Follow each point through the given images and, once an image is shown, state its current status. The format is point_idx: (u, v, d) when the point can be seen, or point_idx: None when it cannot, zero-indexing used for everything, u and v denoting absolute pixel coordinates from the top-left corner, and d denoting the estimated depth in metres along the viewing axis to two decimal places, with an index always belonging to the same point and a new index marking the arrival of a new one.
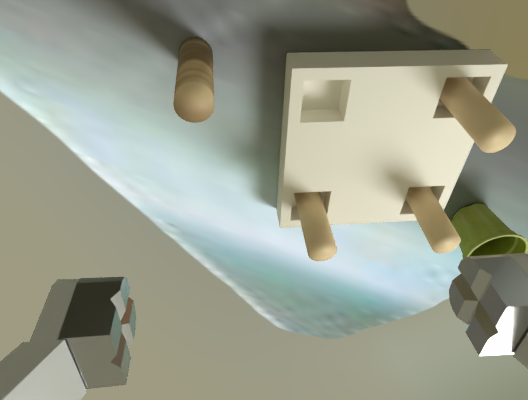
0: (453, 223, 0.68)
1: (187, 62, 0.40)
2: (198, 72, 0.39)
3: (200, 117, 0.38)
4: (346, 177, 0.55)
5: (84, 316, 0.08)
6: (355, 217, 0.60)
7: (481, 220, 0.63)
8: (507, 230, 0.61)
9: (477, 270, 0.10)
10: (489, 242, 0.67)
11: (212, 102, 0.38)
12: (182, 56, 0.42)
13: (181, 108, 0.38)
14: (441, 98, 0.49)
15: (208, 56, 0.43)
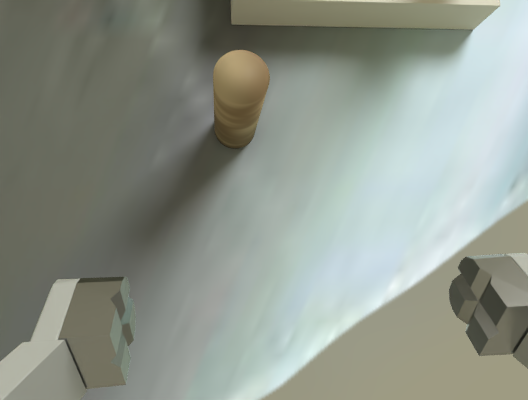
0: None
1: (215, 111, 0.31)
2: None
3: (261, 69, 0.27)
4: None
5: (84, 316, 0.08)
6: None
7: None
8: None
9: (477, 270, 0.10)
10: None
11: (236, 52, 0.27)
12: (220, 129, 0.34)
13: (247, 93, 0.27)
14: None
15: None
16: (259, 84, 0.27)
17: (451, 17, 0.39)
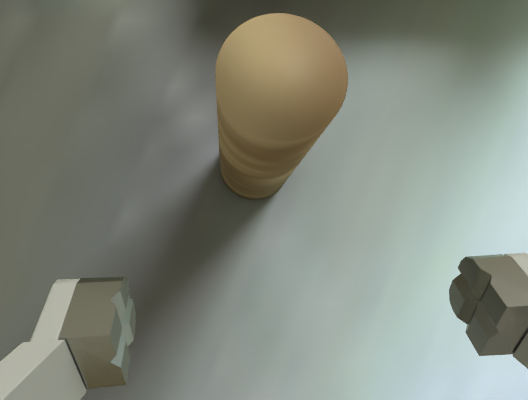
0: None
1: (221, 145, 0.16)
2: None
3: (328, 57, 0.11)
4: None
5: (84, 316, 0.08)
6: None
7: None
8: None
9: (477, 270, 0.10)
10: None
11: (269, 18, 0.11)
12: (230, 174, 0.18)
13: (296, 115, 0.11)
14: None
15: None
16: (325, 92, 0.11)
17: None
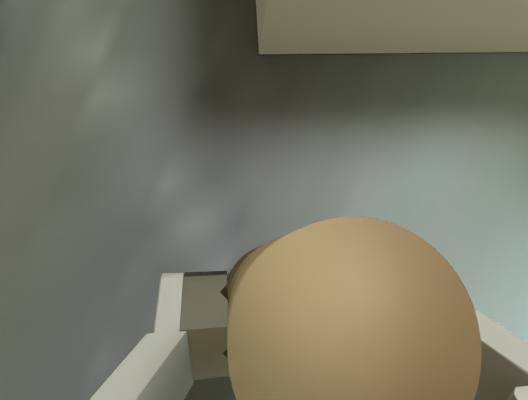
0: None
1: None
2: (229, 298, 0.08)
3: (443, 303, 0.06)
4: None
5: (199, 309, 0.08)
6: None
7: None
8: None
9: None
10: None
11: (329, 227, 0.06)
12: None
13: None
14: None
15: (246, 255, 0.14)
16: (439, 379, 0.06)
17: None
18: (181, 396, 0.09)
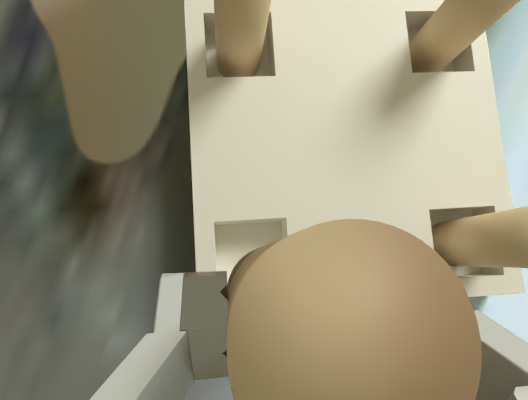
0: None
1: None
2: (229, 299, 0.08)
3: (444, 305, 0.06)
4: (398, 188, 0.31)
5: (199, 308, 0.08)
6: (487, 151, 0.32)
7: None
8: None
9: None
10: None
11: (329, 230, 0.06)
12: None
13: None
14: (247, 71, 0.33)
15: None
16: (439, 382, 0.06)
17: None
18: (181, 395, 0.09)
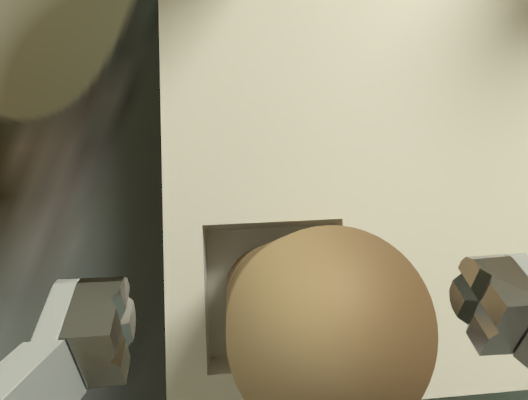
0: None
1: None
2: (228, 294, 0.10)
3: (407, 298, 0.07)
4: None
5: (84, 316, 0.08)
6: None
7: None
8: None
9: (477, 270, 0.10)
10: None
11: (311, 234, 0.07)
12: None
13: None
14: None
15: (243, 256, 0.15)
16: (402, 361, 0.07)
17: None
18: None
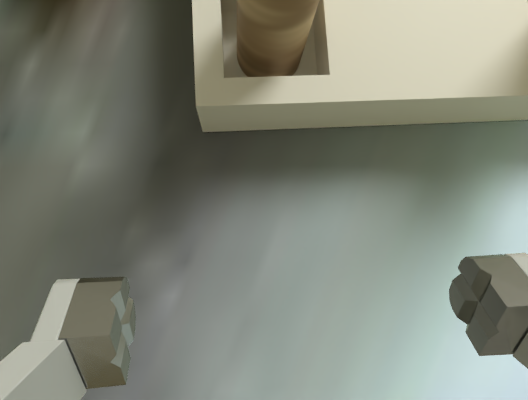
0: None
1: None
2: None
3: None
4: None
5: (84, 316, 0.08)
6: None
7: None
8: None
9: (477, 270, 0.10)
10: None
11: None
12: (247, 40, 0.20)
13: None
14: None
15: None
16: None
17: None
18: None
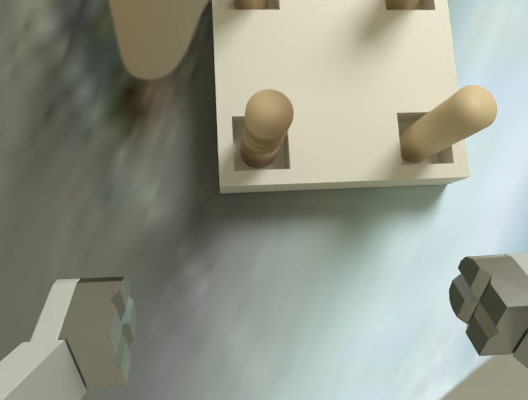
0: None
1: (243, 139, 0.36)
2: None
3: (286, 105, 0.31)
4: (373, 96, 0.41)
5: (84, 316, 0.08)
6: (443, 70, 0.42)
7: None
8: None
9: (477, 270, 0.10)
10: None
11: (264, 91, 0.31)
12: (247, 153, 0.38)
13: (274, 127, 0.31)
14: (258, 7, 0.42)
15: None
16: (285, 119, 0.31)
17: (425, 182, 0.42)
18: None
